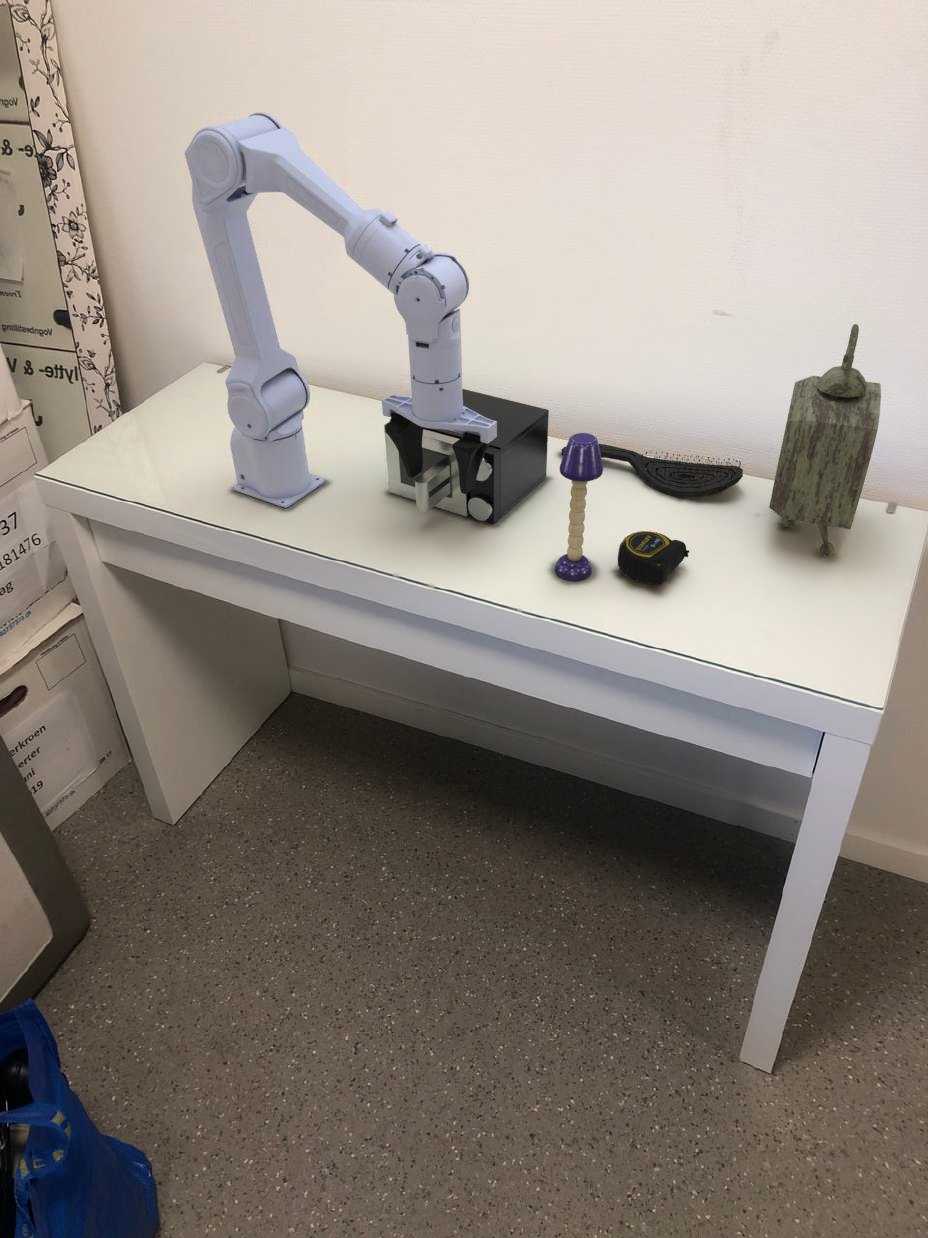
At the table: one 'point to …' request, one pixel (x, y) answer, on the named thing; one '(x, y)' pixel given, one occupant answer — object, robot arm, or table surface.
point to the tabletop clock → (827, 447)
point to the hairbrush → (677, 473)
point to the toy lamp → (578, 500)
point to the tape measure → (650, 556)
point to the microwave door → (429, 475)
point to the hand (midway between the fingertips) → (441, 481)
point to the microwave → (506, 454)
